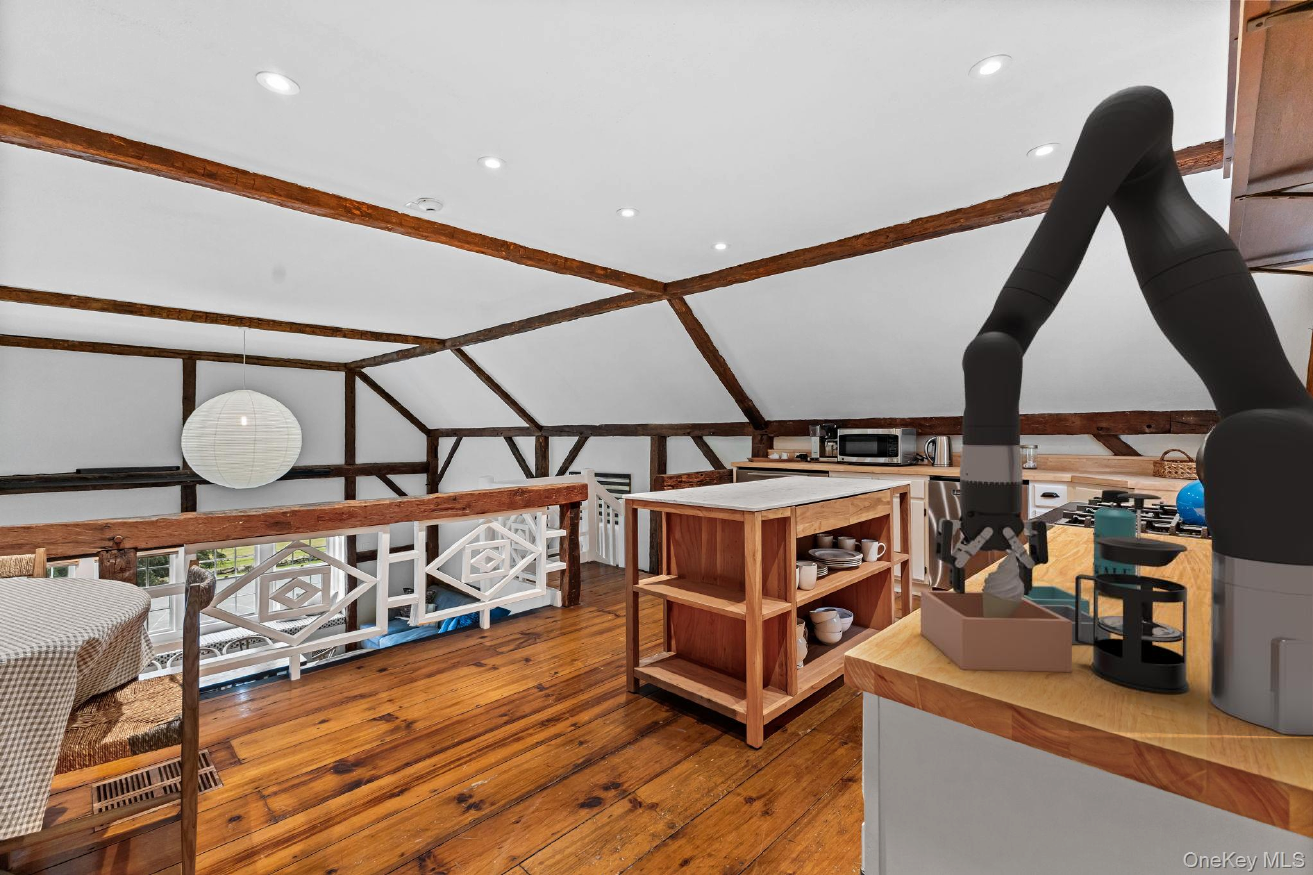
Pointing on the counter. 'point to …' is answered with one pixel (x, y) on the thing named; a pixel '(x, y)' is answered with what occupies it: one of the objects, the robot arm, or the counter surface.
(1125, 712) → the counter surface
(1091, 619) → the frame
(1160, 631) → the french press
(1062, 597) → the crate
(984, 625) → the bin
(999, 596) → the ice cream cone
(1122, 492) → the beverage bottle
